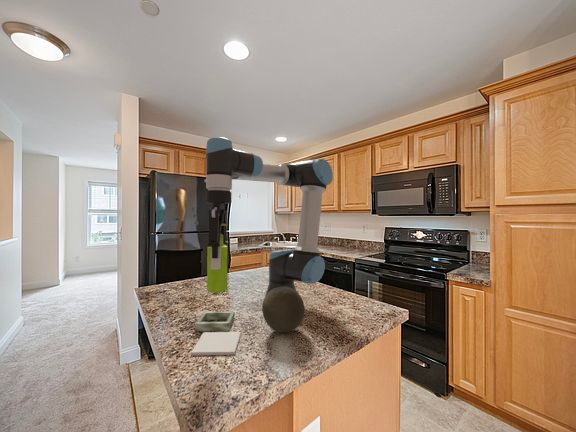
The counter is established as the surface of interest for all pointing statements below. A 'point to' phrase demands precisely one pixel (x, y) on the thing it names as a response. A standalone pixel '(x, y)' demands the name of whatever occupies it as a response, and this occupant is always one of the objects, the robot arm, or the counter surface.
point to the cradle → (214, 326)
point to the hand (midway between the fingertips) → (218, 266)
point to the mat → (217, 343)
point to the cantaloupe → (283, 309)
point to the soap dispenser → (217, 270)
